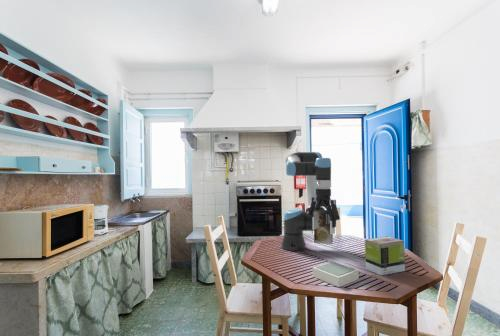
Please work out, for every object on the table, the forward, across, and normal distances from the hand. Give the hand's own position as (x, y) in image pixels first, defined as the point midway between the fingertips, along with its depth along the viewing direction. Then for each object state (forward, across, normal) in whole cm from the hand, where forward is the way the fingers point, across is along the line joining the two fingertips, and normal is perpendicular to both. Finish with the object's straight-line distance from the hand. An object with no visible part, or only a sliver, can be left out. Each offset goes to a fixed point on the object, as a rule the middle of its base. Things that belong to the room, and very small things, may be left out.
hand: (323, 231), depth 140 cm
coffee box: (+6, 0, 0) cm, 6 cm away
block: (+17, +15, -10) cm, 24 cm away
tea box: (+17, +23, +18) cm, 33 cm away
